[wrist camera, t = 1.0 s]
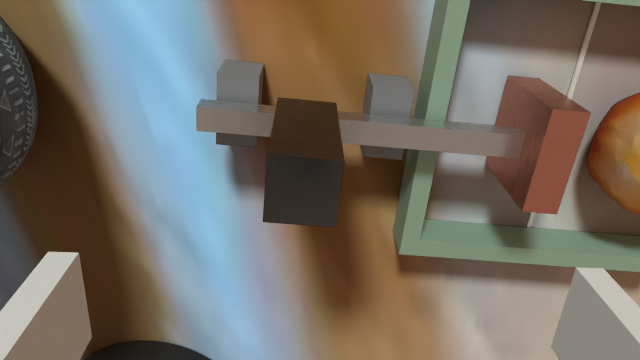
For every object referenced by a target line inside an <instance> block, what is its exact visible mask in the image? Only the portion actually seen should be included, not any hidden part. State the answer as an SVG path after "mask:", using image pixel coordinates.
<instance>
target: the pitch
mask: <svg viewBox="0 0 640 360" xmlns="http://www.w3.org/2000/svg"><path fill="white" fill-rule="evenodd" d="M584 1H593V2H595V5H594V9H593V12H592V15H591V18H590V21H589V25H588V28H587V31H586V34H585V38H584V41H583V44H582V47H581V50H580V54H579V57H578V60H577V63H576V67H575V70H574V73H573V76H572V80H571V83H570V86H569V89H568V92H567V96H566V97H568V98H569V99H572V95H573V92H574V89H575V86H576V83H577V80H578V76H579V73H580V70H581V67H582V64H583V61H584V57H585V54H586V51H587V48H588V45H589V41H590V38H591V35H592V32H593V29H594V26H595V22H596V19H597V16H598V13H599V10H600V7H601V3H602V2H603V3H613V4H622V5H632V6H640V0H584ZM469 5H470V0H435V5H434V10H433V16H432V21H431V27H430V32H429V37H428V43H427V48H426V54H425V59H424V65H423V70H422V75H421V81H420V86H419V92H418V97H417V103H416V108H415V114H414V118H417V119H429V120H440V121H445V118H446V114H447V109H448V104H449V99H450V95H451V90H452V85H453V81H454V76H455V71H456V66H457V62H458V57H459V52H460V47H461V43H462V38H463V33H464V28H465V24H466V19H467V14H468V10H469ZM263 71H264V63H255V62H244V61H233V60H225V61H224V63H223V64H222V66H221V67H220V69H219V70H218V72H217V101H227V102H238V103H249V104H261V105H262V91H263ZM413 96H414V89H413V88H412V86H411V84H410V83H409V81H408V80H407V78H406V77H404V76H393V75H383V74H372V73H368V78H367V85H366V93H365V100H364V107H363V114H373V115H384V116H395V117H406V118H410V113H411V107H412V102H413ZM258 137H259V136H253V135H241V134H229V133H218V132H216V144H220V145H232V146H244V147H255V148H256V145H257V141H258ZM361 148H362V152H363V157H373V158H385V159H397V160H402V157H403V152H404V148H392V147H380V146H369V145H361ZM437 156H438V151H427V150H415V149H408V152H407V157H406V162H405V168H404V173H403V179H402V184H401V190H400V195H399V201H398V206H397V211H396V217H395V222H394V228H393V234H394V237H395V241H396V245H397V248H398V252H399V254H402V255H416V256H429V257H443V258H456V259H470V260H483V261H497V262H510V263H523V264H537V265H550V266H564V267H577V268H604V270H618V271H631V272H640V236H632V235H619V234H606V233H593V232H581V231H568V230H555V229H542V228H529V227H531V226H532V222H533V219H534V216H535V213H534V212H530V215H529V218H528V222H527V225H526V227H517V226H504V225H491V224H478V223H466V222H453V221H440V220H427V219H424V218H425V213H426V208H427V203H428V199H429V194H430V189H431V185H432V180H433V175H434V170H435V166H436V161H437Z"/></svg>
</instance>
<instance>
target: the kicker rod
mask: <svg viewBox="0 0 640 360" xmlns="http://www.w3.org/2000/svg"><path fill="white" fill-rule="evenodd" d="M590 114H591V112H589V111H588V110H586V109H585V108H583V107H582V106H580V105H579V104H577V103H576V102H574V101H573V100H571V99H569V98H568V97H566V96H565V95H563V94H562V93H560V92H559V91H557V90H556V89H554V88H553V87H551V86H550V85H548V84H547V83H545V82H544V81H542V80H541V79H539V78H529V77H519V76H508V77H507V81H506V85H505V89H504V93H503V97H502V101H501V104H500V108H499V112H498V116H497V120H496V124H495V125H484V124H473V123H462V122H451V121H440V120H429V119H417V118H406V117H395V116H384V115H373V114H361V113H350V112H339V111H337V106H336V103H333V102H322V101H311V100H300V99H288V98H278V100H277V105H276V106H272V105H261V104H249V103H238V102H227V101H216V100H205V99H201V100H200V102H199V104H198V105H197V107H196V117H197V131H206V132H218V133H229V134H241V135H253V136H264V137H270V141H269V146H268V151H267V160H266V177H265V194H264V211H263V222H270V223H283V224H296V225H309V226H322V227H335V228H336V223H337V215H338V207H339V200H340V192H341V184H342V176H343V169H344V154H343V147H342V143H346V144H357V145H369V146H380V147H392V148H404V149H415V150H427V151H439V152H450V153H462V154H474V155H485V156H487V159H486V164H487V165H488V166H489V168H490V169H491V171H492V172H493V173H494V175H495V176H496V177H497V179H498V180H499V181H500V183H501V184H502V185H503V187H504V188H505V189H506V191H507V192H508V193H509V195H510V196H511V197H512V199H513V200H514V201H515V203H516V204H517V205H518V207H519V208H520V209H521V211H522V212H534V213H547V214H557V212H558V209H559V206H560V203H561V200H562V197H563V194H564V191H565V188H566V185H567V182H568V179H569V176H570V173H571V170H572V167H573V164H574V161H575V158H576V155H577V152H578V149H579V146H580V143H581V141H582V138H583V135H584V132H585V129H586V126H587V123H588V120H589V117H590Z"/></svg>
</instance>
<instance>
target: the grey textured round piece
mask: <svg viewBox="0 0 640 360" xmlns="http://www.w3.org/2000/svg"><path fill="white" fill-rule="evenodd" d="M37 119H38V103H37V91H36V86H35V81H34V76H33V73H32V69H31V66H30V64H29V61H28V58H27V56H26V54H25V52H24V50H23V48H22V46H21V44H20V42H19V41H18V39H17V37H16V36H15V34H14V33H13V31H12V30H11V29H10V27H9V26H8V25H7V23H6V22H5V21H4V20H3V19H2V17H1V16H0V185H1V184H2V183H3V182H4V181H6V180H7V179H8V178H9V177H10V176H11V175H12V174H13V173H14V172H15V171H16V170H17V169H18V168H19V166H20V165H21V164H22V162H23V161H24V159H25V158H26V156H27V154H28V152H29V150H30V148H31V146H32V143H33V140H34V137H35V133H36V127H37Z"/></svg>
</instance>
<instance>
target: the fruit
mask: <svg viewBox="0 0 640 360" xmlns="http://www.w3.org/2000/svg"><path fill="white" fill-rule="evenodd" d="M587 166H588V170H589V173H590V175H591V177H592V178H593V179H594V180H595V181H596V182H597V183H598V184H599V186H600V187H601V188H602V190H603V191H604V192H605V193H607V194H608V195H609V196H610V197H611V198H612V199H614V200H615V201H616V202H617V203H618V204H619V205H620V206H621V207H622V208H623V209H625V210H627V211H630V212H632V213H640V93H637V94H634V95H632V96H630V97H627V98H625V99H623V100H621V101H619V102H617V103H616V104H614V105H613V106H612V107H611V108H610V110H609V111H608V113H607V114H606V115H605V117H604V118H603V120H602V121H601V123H600V124H599V126H598V128H597V130H596V132H595V135H594V138H593V141H592V145H591V148H590V151H589V155H588V158H587Z"/></svg>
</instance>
